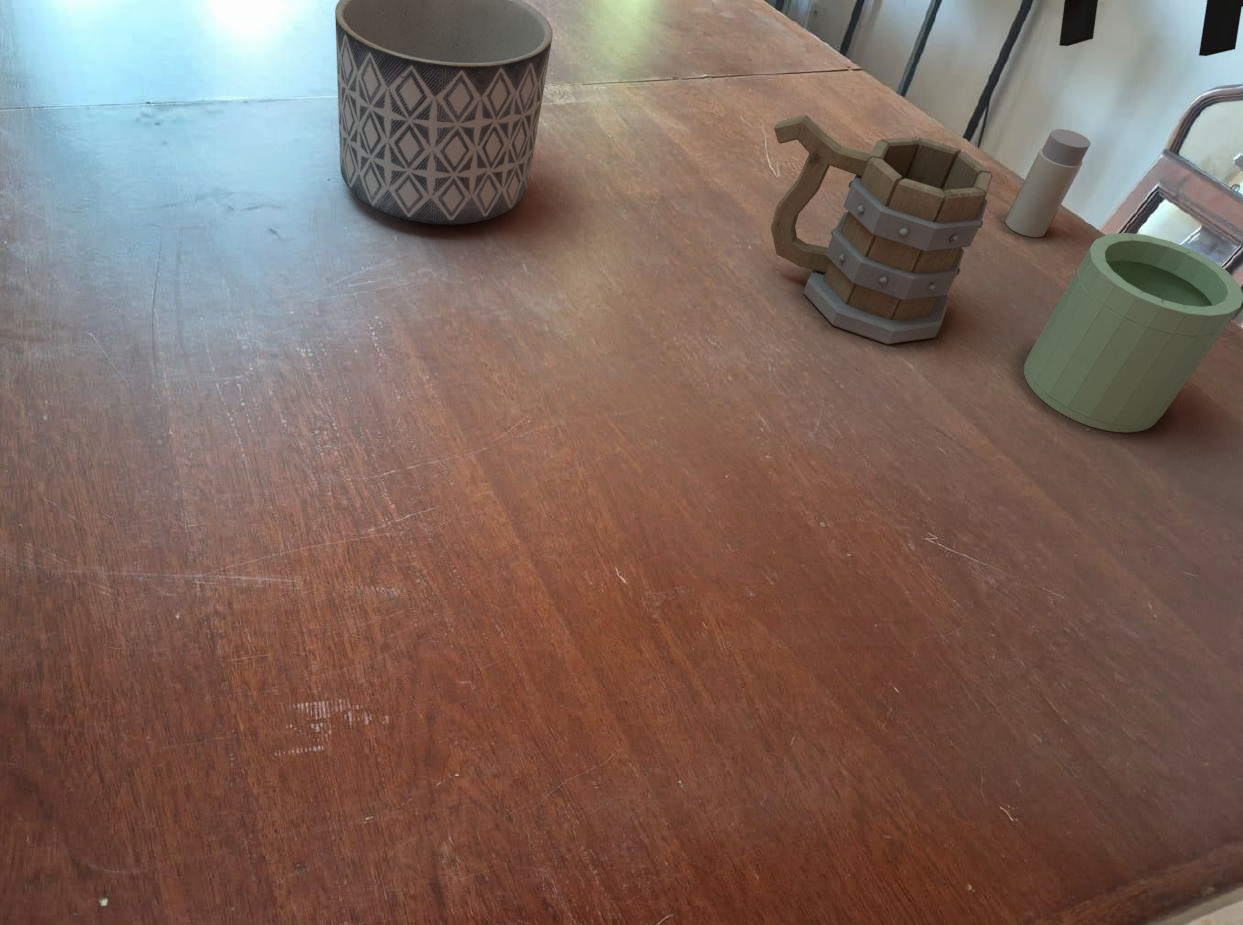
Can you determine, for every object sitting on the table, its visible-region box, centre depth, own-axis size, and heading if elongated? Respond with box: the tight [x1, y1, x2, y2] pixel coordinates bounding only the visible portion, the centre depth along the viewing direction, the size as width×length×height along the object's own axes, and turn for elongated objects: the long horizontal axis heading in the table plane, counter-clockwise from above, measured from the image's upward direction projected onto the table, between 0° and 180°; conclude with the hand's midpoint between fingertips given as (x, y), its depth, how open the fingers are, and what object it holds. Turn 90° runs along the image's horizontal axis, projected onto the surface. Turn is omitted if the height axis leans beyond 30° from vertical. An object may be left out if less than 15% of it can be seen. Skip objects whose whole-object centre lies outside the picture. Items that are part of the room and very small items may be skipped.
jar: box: [1023, 232, 1243, 434], centre depth 90 cm, size 12×12×12 cm
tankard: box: [770, 114, 993, 345], centre depth 96 cm, size 20×13×15 cm, turn 65°
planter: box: [334, 0, 553, 225], centre depth 100 cm, size 19×19×16 cm
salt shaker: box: [1004, 128, 1091, 238], centre depth 111 cm, size 4×4×10 cm
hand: (1147, 47), depth 84 cm, fingers open, 13 cm apart
